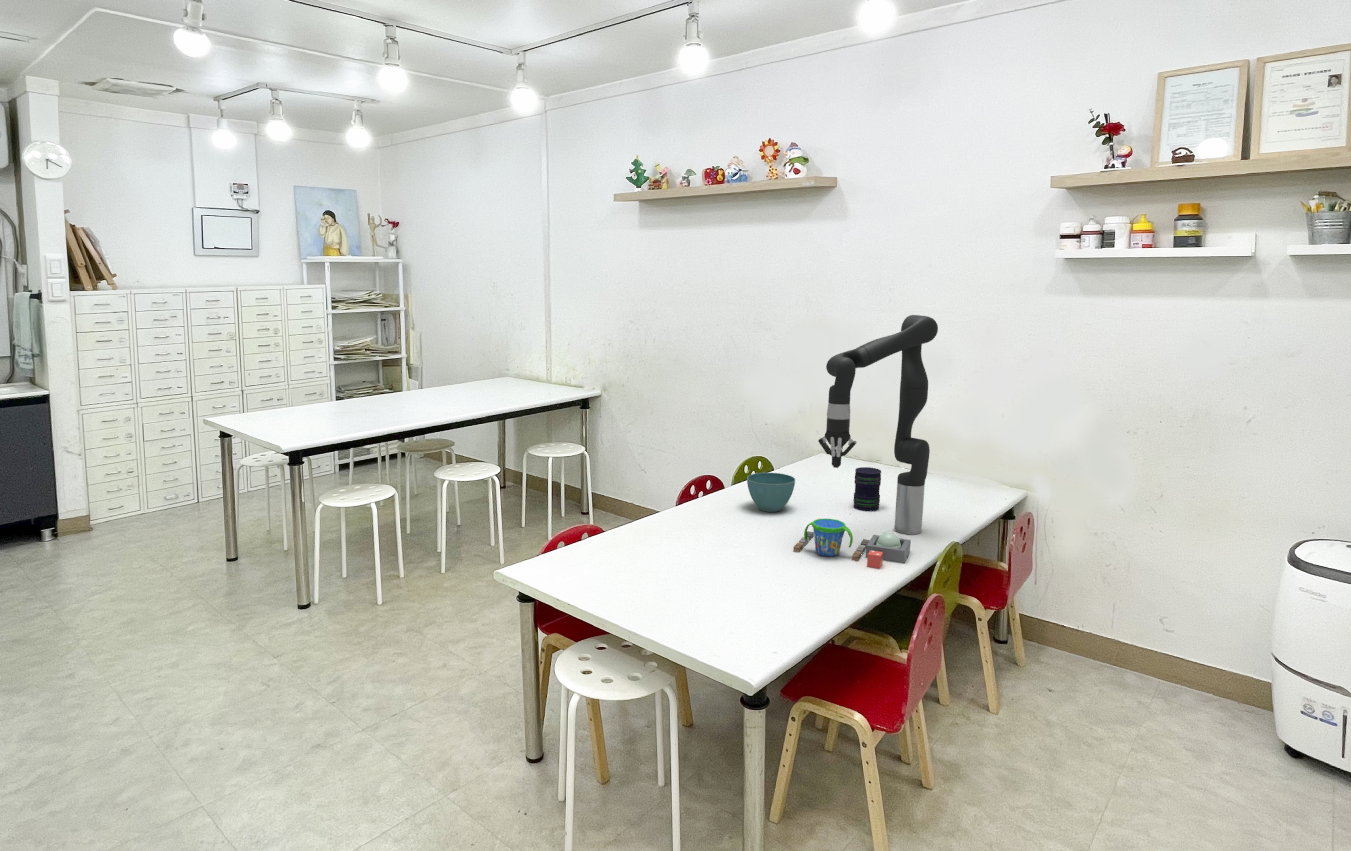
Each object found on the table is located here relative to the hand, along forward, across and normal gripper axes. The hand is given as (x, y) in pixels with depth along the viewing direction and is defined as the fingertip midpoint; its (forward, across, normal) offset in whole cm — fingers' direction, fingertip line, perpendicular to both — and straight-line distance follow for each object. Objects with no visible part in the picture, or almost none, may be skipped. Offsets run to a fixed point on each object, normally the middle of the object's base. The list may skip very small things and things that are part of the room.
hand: (836, 467), depth 273 cm
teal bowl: (+25, +30, -24) cm, 46 cm away
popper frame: (+25, -20, +8) cm, 33 cm away
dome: (+25, -20, +8) cm, 33 cm away
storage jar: (+25, -3, -42) cm, 49 cm away
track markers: (+25, -2, +10) cm, 27 cm away
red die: (+25, -18, +20) cm, 37 cm away
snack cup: (+25, -2, +15) cm, 30 cm away
